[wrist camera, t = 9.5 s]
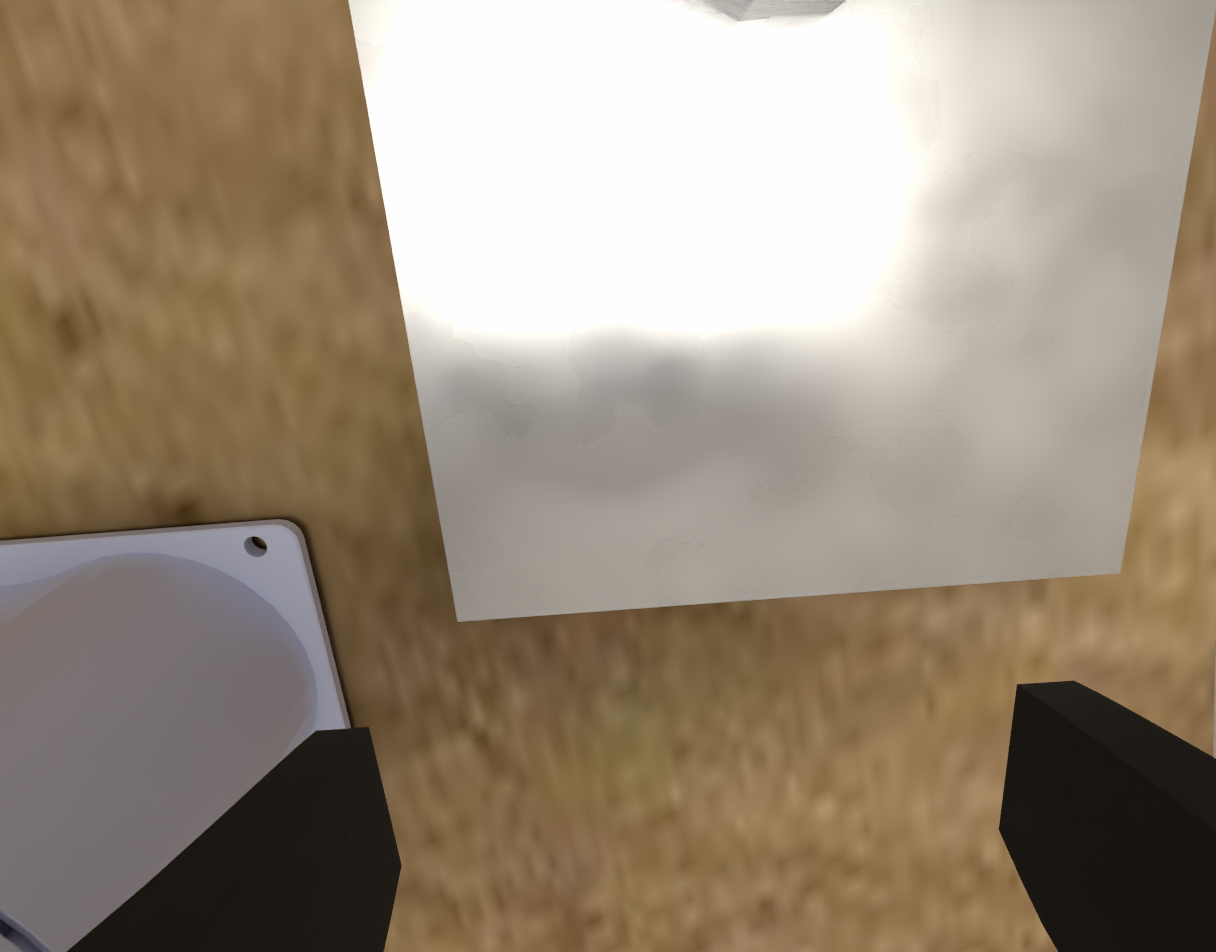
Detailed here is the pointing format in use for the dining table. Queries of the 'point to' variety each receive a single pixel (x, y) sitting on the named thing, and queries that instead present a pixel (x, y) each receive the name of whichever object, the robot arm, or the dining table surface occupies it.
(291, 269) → the dining table surface
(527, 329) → the post stand
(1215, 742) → the milk
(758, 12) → the iron ring
